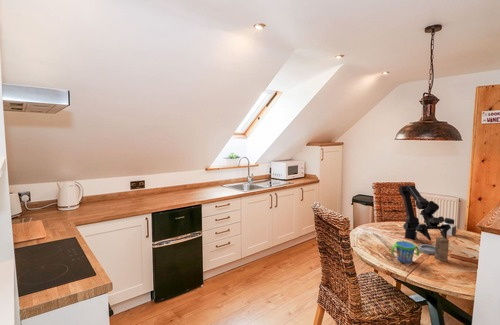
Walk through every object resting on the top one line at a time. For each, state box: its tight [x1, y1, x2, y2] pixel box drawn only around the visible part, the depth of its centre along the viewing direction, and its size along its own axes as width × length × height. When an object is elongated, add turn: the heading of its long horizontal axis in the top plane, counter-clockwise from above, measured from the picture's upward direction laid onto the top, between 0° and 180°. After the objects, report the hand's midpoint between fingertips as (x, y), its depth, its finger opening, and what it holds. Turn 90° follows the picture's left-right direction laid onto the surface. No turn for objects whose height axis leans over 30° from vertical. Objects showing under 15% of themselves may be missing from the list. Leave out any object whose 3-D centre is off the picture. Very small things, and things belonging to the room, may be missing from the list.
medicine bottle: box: [443, 217, 457, 237], centre depth 208 cm, size 7×7×12 cm
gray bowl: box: [417, 243, 435, 256], centre depth 179 cm, size 12×12×2 cm
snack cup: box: [390, 240, 420, 264], centre depth 165 cm, size 16×10×10 cm
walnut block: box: [434, 236, 450, 262], centre depth 166 cm, size 5×5×13 cm
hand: (438, 240), depth 169 cm, fingers open, 9 cm apart
